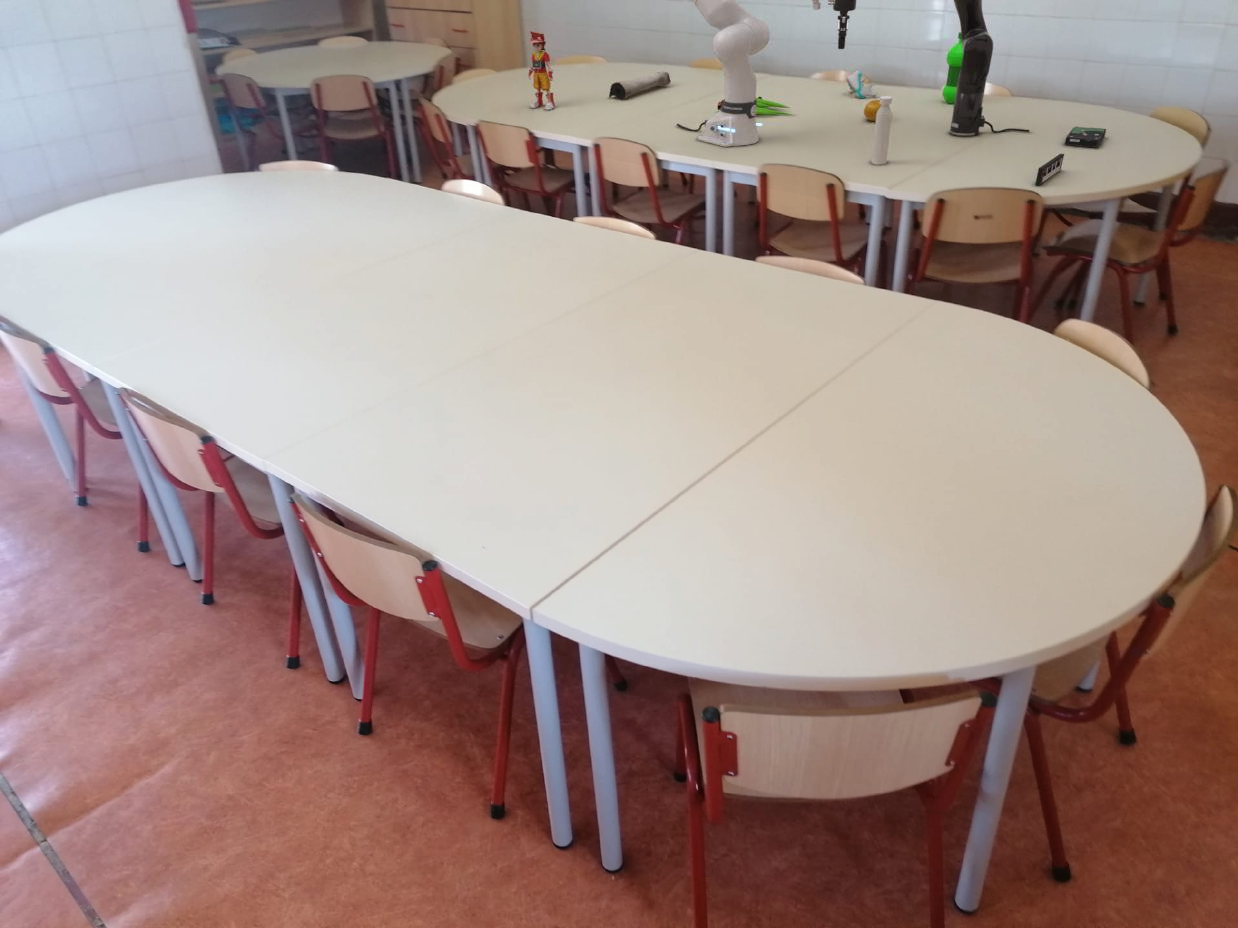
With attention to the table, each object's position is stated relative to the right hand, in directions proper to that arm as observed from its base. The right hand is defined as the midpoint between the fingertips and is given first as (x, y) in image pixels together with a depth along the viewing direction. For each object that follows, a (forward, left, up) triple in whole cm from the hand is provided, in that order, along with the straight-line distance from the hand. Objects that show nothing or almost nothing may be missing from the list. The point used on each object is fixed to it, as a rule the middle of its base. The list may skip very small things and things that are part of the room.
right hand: (841, 46), depth 311 cm
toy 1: (+122, -40, -29) cm, 132 cm away
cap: (-15, +36, -9) cm, 39 cm away
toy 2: (+30, -31, -29) cm, 52 cm away
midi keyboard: (-64, +50, -29) cm, 87 cm away
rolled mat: (+84, -67, -29) cm, 111 cm away
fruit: (-15, -18, -29) cm, 38 cm away
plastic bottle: (-46, -46, -29) cm, 71 cm away
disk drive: (-83, +10, -29) cm, 89 cm away
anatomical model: (-10, -59, -29) cm, 67 cm away
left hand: (+7, +25, +16) cm, 30 cm away
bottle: (-15, +36, -29) cm, 48 cm away
